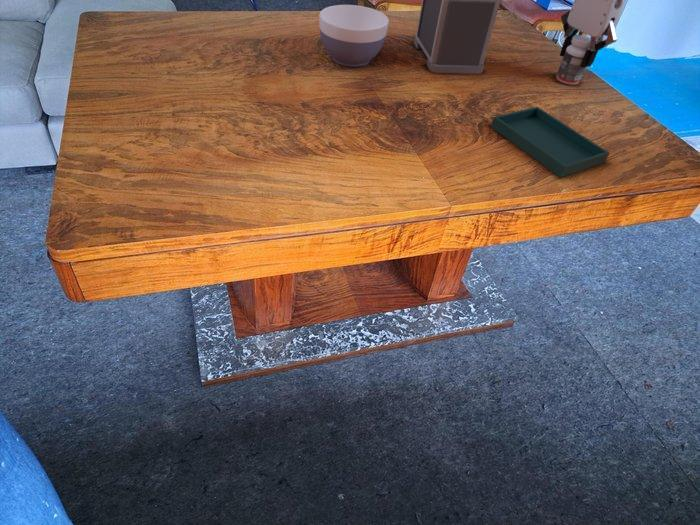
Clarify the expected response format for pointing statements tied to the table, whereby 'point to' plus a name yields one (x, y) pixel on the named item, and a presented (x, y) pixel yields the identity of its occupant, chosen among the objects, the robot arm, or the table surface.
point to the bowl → (352, 33)
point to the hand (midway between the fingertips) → (575, 60)
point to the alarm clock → (456, 34)
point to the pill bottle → (573, 60)
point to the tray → (549, 141)
